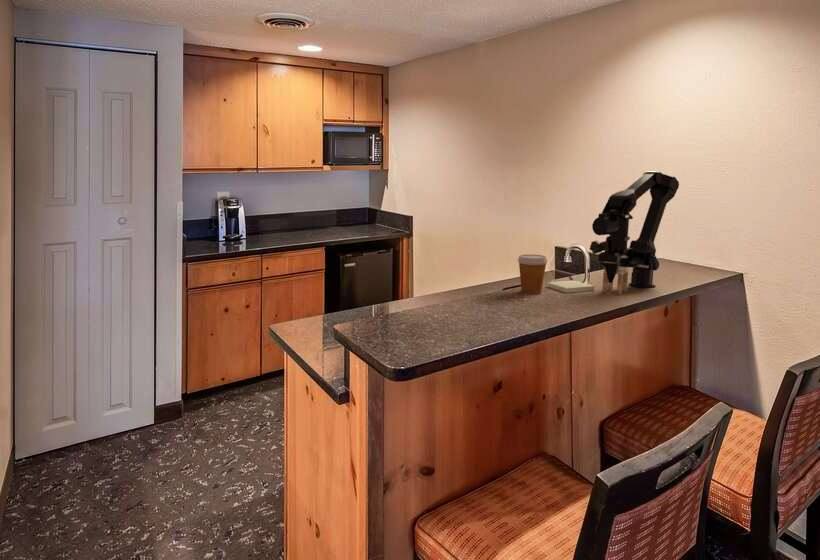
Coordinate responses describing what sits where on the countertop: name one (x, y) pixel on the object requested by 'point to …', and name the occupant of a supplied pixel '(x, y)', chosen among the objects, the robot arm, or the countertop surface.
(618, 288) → the maple stool
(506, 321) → the countertop surface
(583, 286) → the sage board
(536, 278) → the disposable coffee cup
